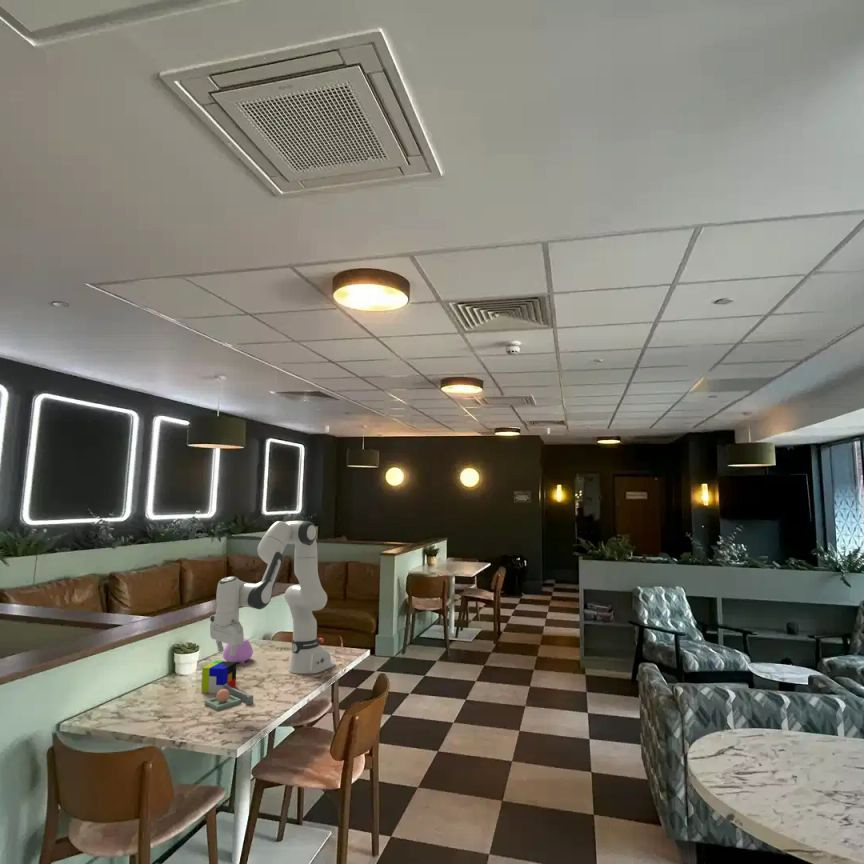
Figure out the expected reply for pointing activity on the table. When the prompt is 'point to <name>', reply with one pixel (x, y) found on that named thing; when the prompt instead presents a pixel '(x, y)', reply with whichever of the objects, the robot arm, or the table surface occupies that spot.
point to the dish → (218, 706)
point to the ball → (222, 695)
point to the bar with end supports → (239, 694)
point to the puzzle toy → (218, 676)
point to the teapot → (239, 652)
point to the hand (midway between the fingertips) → (226, 653)
